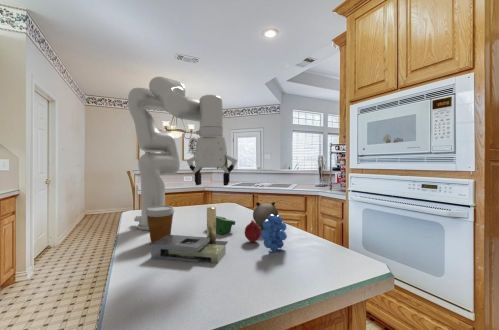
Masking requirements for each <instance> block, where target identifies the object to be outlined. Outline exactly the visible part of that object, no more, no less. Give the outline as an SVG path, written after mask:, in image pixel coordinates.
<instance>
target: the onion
mask: <svg viewBox="0 0 499 330" xmlns="http://www.w3.org/2000/svg"><path fill="white" fill-rule="evenodd" d="M261 232H262V231H261V229H260V227H259V225H258V224H257V223H256V222H255V221H254V219H251V221H250V223H248V224H247V225H246V227H245V229H244V236H245V238H246V239H247V240H248V241H249V242H250V243H252V244H253V243H255V242H257V241H258V240H260V238H261Z"/></svg>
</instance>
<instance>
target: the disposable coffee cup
mask: <svg viewBox="0 0 499 330" xmlns="http://www.w3.org/2000/svg"><path fill="white" fill-rule="evenodd" d="M174 213H175V209H174V206H172V205H171V206H170V205H165V206H154V207H150V208H148V209H147V212H146V214H147V218H148V225H149V230H148V231H149V238H150V245H151V244H152V243H154V242H155V241H157V240H159V239H161V238H162V237H164V236H166V235H172V234H171V233H172V225H173V218H174Z"/></svg>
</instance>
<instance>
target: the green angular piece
mask: <svg viewBox="0 0 499 330" xmlns="http://www.w3.org/2000/svg"><path fill="white" fill-rule="evenodd" d="M233 226H236V220H234V219H233V220H231V219H227V218H225V217H223V216H217V215H216V234H218V235H227V233H228V232H231V231H232V228H233Z"/></svg>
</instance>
